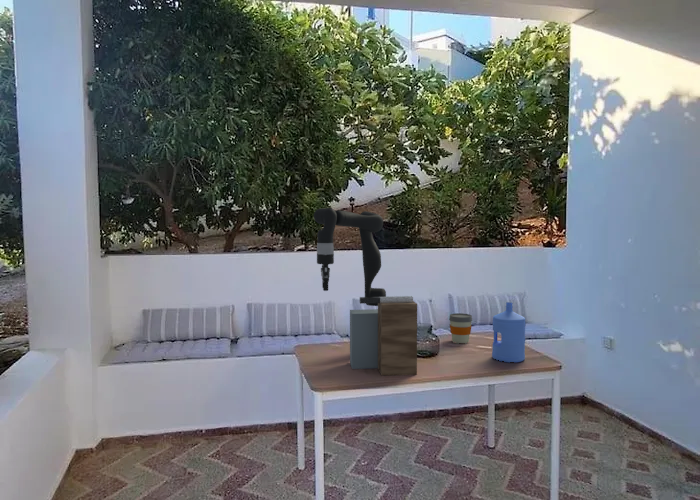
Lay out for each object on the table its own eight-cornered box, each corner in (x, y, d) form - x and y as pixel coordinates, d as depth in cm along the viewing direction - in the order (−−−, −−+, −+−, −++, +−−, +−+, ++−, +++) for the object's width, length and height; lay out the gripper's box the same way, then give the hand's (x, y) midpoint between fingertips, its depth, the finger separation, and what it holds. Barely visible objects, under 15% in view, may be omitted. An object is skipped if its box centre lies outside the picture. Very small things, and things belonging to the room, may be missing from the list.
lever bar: (359, 302, 237) (359, 297, 237) (411, 301, 240) (411, 296, 240) (360, 303, 234) (360, 298, 234) (413, 302, 237) (413, 297, 237)
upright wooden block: (377, 368, 245) (377, 300, 242) (411, 367, 246) (411, 299, 244) (381, 375, 234) (381, 304, 231) (416, 374, 235) (417, 304, 233)
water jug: (526, 356, 264) (527, 301, 263) (522, 364, 250) (523, 306, 248) (494, 353, 271) (495, 299, 269) (489, 360, 257) (490, 304, 255)
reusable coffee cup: (451, 344, 289) (452, 317, 288) (446, 339, 301) (447, 313, 300) (474, 344, 289) (474, 317, 288) (468, 338, 302) (468, 313, 300)
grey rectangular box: (349, 362, 254) (349, 309, 252) (390, 361, 256) (390, 308, 254) (352, 369, 244) (351, 313, 242) (394, 367, 246) (394, 312, 244)
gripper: (316, 252, 240) (316, 287, 241) (317, 254, 226) (317, 291, 227) (332, 252, 241) (332, 287, 242) (334, 254, 227) (334, 291, 227)
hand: (325, 289), depth 234 cm, fingers open, 8 cm apart
